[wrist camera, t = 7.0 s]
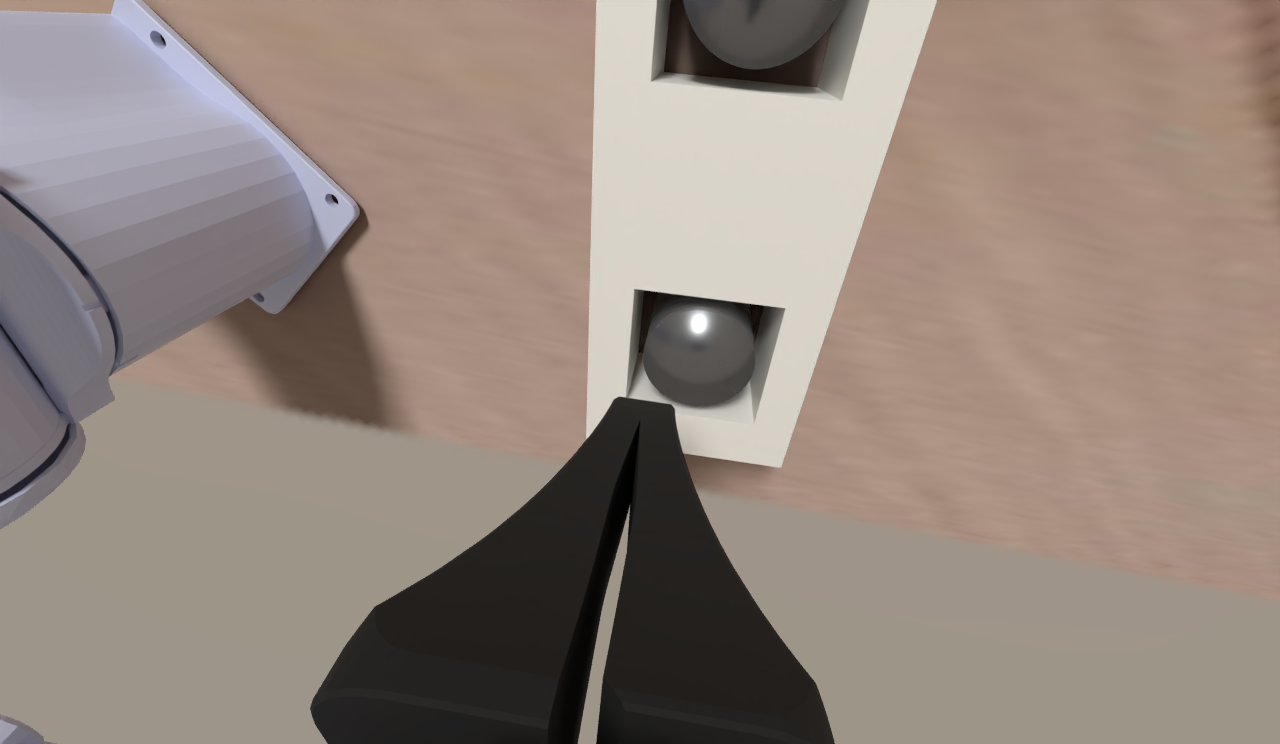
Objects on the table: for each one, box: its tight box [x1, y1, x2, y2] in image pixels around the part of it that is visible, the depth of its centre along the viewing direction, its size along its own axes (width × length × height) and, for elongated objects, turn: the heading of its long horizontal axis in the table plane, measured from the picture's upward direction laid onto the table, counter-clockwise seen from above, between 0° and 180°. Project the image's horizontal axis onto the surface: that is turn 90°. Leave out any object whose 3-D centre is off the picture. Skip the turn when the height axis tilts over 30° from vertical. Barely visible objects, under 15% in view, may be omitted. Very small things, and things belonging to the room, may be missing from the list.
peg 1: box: [643, 292, 755, 406], centre depth 19 cm, size 4×4×4 cm
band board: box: [586, 0, 937, 468], centre depth 16 cm, size 20×8×4 cm, turn 175°
